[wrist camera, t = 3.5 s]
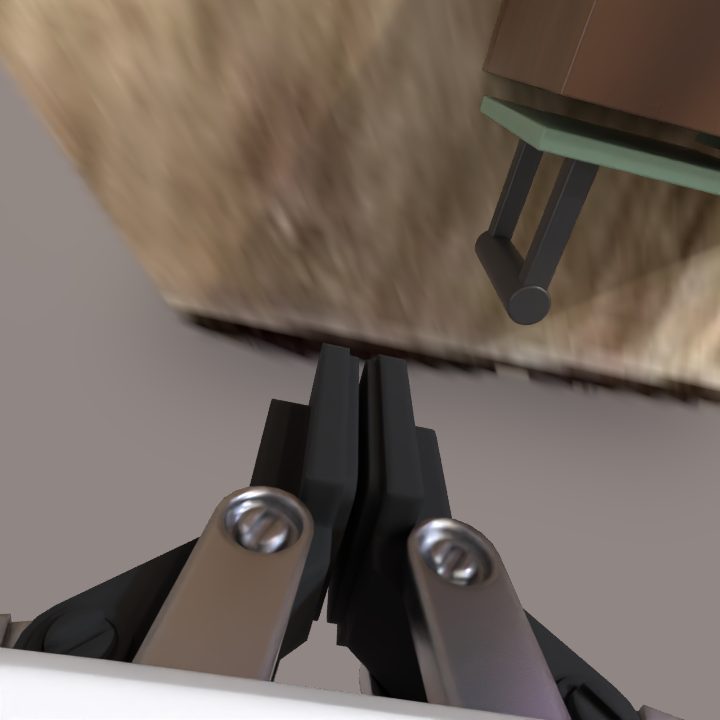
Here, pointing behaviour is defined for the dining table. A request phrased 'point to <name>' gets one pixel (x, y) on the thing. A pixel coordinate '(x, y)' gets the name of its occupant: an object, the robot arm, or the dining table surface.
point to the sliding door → (566, 193)
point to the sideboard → (618, 56)
